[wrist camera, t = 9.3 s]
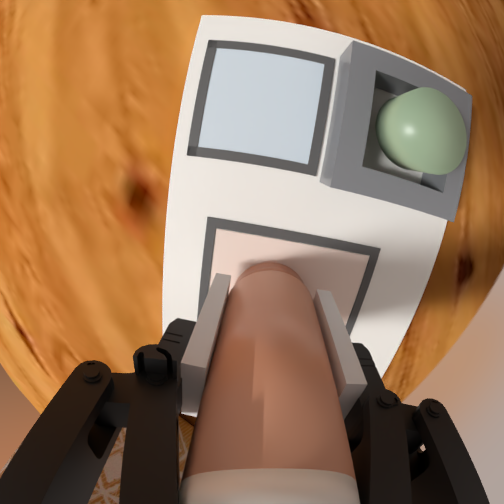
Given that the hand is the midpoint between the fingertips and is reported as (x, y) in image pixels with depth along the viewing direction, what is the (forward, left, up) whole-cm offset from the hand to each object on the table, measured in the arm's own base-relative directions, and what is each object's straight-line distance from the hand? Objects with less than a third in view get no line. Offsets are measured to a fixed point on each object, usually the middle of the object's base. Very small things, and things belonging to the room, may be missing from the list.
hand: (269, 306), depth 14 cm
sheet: (+2, +3, -2) cm, 4 cm away
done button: (+5, +10, 0) cm, 11 cm away
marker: (0, 0, -1) cm, 1 cm away
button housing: (+5, +10, -2) cm, 11 cm away
